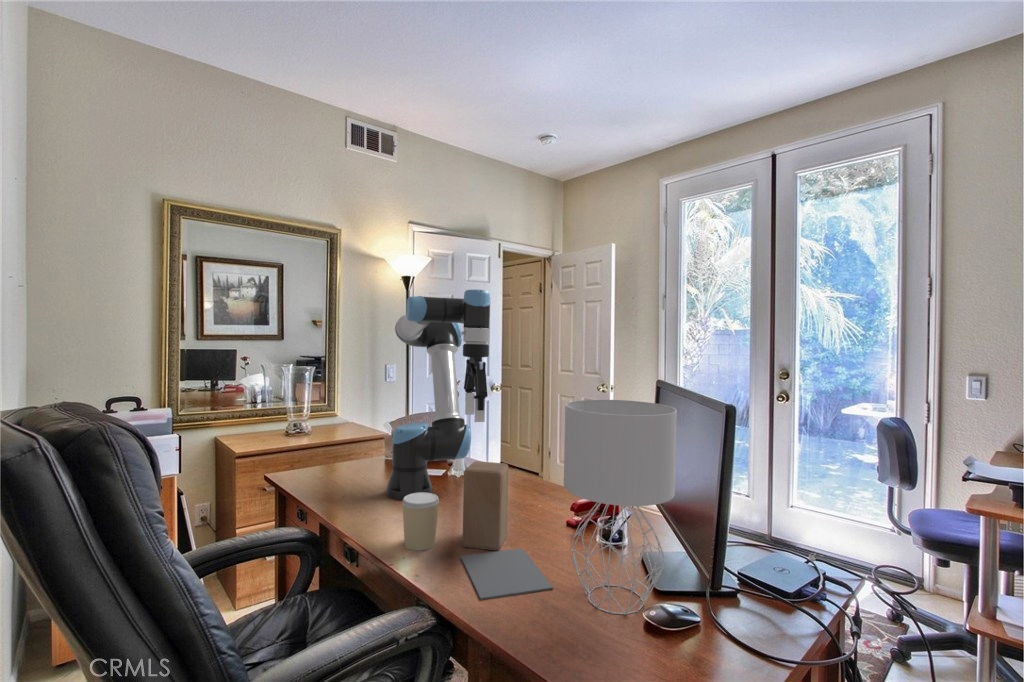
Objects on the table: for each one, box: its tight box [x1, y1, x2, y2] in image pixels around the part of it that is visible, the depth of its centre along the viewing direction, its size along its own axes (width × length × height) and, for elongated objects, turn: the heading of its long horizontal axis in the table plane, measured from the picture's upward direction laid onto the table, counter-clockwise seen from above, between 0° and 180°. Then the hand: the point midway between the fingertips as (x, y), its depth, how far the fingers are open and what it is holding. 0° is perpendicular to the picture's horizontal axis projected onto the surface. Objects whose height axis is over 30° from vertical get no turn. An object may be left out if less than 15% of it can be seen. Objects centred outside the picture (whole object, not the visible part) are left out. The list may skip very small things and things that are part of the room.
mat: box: [460, 547, 554, 601], centre depth 112 cm, size 20×16×1 cm
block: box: [462, 460, 510, 551], centre depth 128 cm, size 10×10×20 cm
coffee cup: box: [401, 492, 440, 551], centre depth 126 cm, size 9×9×12 cm
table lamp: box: [563, 399, 678, 616], centre depth 101 cm, size 22×22×40 cm
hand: (474, 418), depth 142 cm, fingers open, 12 cm apart
